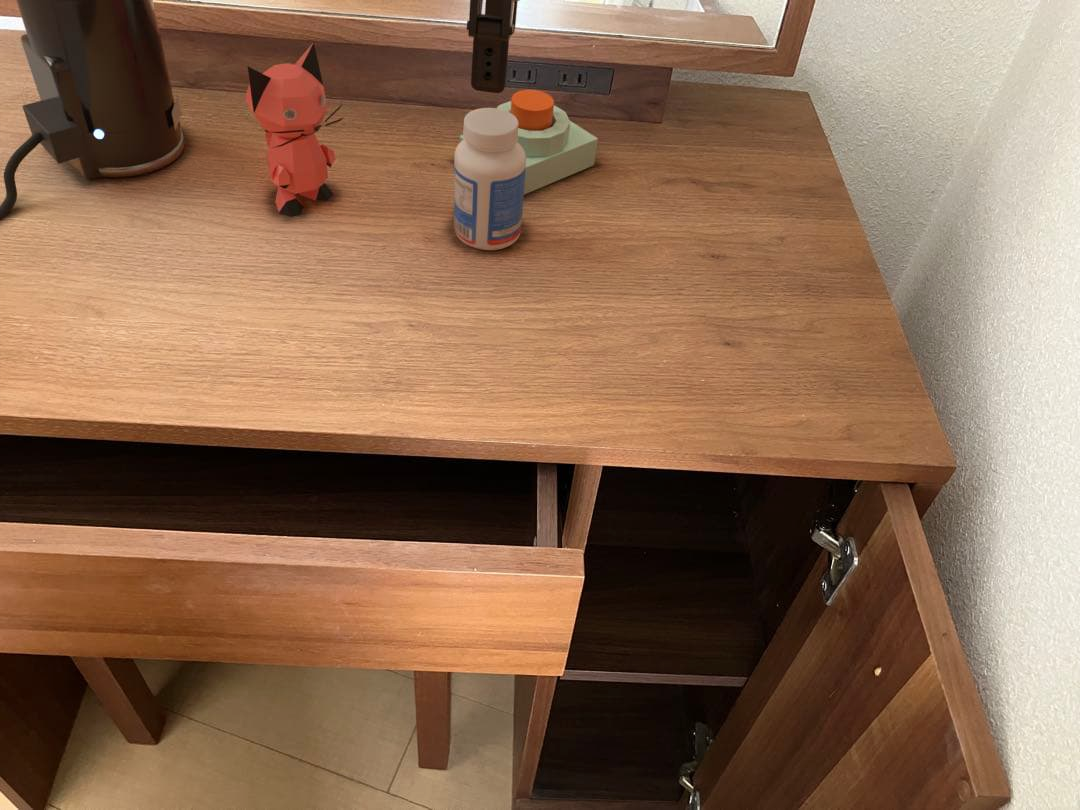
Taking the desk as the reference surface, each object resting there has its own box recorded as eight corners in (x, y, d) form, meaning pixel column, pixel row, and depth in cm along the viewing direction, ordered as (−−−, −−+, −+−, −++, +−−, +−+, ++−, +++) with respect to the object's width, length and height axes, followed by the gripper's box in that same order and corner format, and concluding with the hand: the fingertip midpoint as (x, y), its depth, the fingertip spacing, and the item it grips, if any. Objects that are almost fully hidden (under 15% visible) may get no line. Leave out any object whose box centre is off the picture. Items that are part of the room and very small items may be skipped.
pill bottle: (524, 217, 74) (534, 108, 67) (516, 256, 70) (526, 144, 63) (458, 208, 74) (461, 98, 67) (447, 247, 70) (449, 134, 63)
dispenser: (509, 200, 75) (513, 153, 72) (458, 163, 79) (459, 116, 76) (594, 165, 81) (601, 119, 77) (542, 131, 84) (547, 86, 81)
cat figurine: (291, 232, 70) (272, 87, 61) (236, 195, 72) (210, 51, 64) (360, 197, 74) (351, 56, 65) (305, 163, 76) (289, 24, 68)
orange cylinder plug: (529, 137, 75) (531, 114, 73) (501, 118, 77) (502, 96, 75) (560, 125, 77) (563, 103, 75) (532, 107, 78) (534, 85, 77)
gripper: (461, -256, 55) (452, 10, 67) (428, -196, 45) (424, 103, 57) (583, -238, 55) (552, 23, 67) (576, -176, 45) (542, 118, 57)
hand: (493, 60), depth 62 cm, fingers open, 8 cm apart
